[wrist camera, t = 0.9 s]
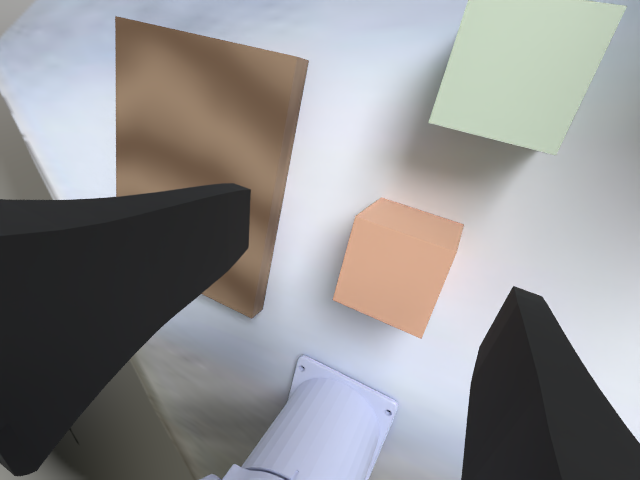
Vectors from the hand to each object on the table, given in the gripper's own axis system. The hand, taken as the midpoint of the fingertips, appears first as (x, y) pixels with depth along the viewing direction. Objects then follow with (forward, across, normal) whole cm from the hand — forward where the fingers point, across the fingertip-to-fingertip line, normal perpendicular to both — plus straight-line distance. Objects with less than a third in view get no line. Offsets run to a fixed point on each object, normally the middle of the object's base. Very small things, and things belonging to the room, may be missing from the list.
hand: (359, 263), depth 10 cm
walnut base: (+12, +16, +6) cm, 21 cm away
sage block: (+14, -2, -4) cm, 15 cm away
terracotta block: (+12, 0, +6) cm, 14 cm away
